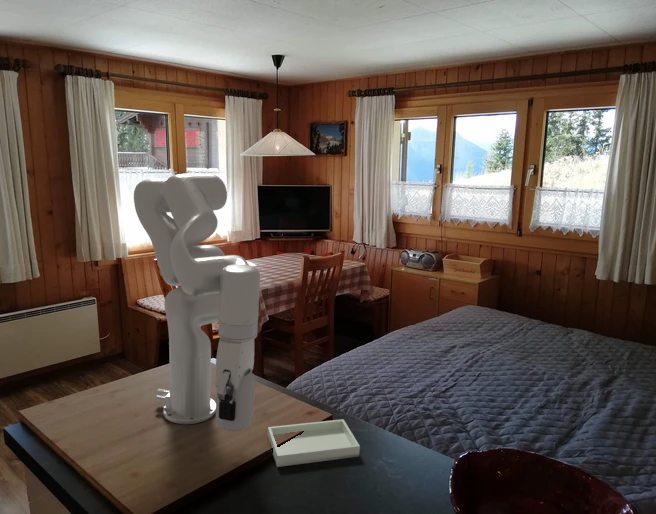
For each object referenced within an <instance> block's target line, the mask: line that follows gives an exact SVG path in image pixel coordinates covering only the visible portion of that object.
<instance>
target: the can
mask: <svg viewBox="0 0 656 514" xmlns="http://www.w3.org/2000/svg"><path fill="white" fill-rule="evenodd" d="M255 383H256V376H255V374H254V373H253V370H252V369H251V368H250V371H249V372H248V374H247V375H246V376H244V377H243V381H242V383H241V385H240V388H238V389H237V390H236V394H235V399H234V402H236V410H235V420H234V421H229V420H224V419H220V418H219V399H218V395H217V393H216V400H215V402H216V413H215V423H216V424H217V426H219V427H220V428H221V429H223V430H225V431H228V432H238V431H242V430H244V429H247V427H249V426H250V425H251V424H252V423H253V420H254V403H255V401H254V400H255V385H256V384H255ZM228 386H231V387H233V386H234V385H232V383H231V382H229V384H228ZM217 390H218V387H216V391H217ZM226 392H227V394H229V395H230V396H231V392H232V390H230V389H226Z"/></svg>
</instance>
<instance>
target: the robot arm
mask: <svg viewBox="0 0 656 514" xmlns="http://www.w3.org/2000/svg"><path fill="white" fill-rule="evenodd" d="M227 200H228V191H227V187H226V185H225V182H224V181H223V180H222V179H221V177H220V176H217V175H216V174H209V173H206V174H205V173H177V174H175V175H171V176H169V177H167V178H165V177H164V178H163V177H162V178H160V177H157V178H156V177H155V178H148V179H144V180H142V181H140V182H138V184H137V185H136V186H135V188H134V191H133V202H134V203H133V204H134V205H133V206H134V209H135V212H136V216H137V218H138V220H139V222H140V224H141V226H142V229H144V231H145V232H146V234H147V236H148V237H149V239H150V242H151V244H152V248H153V251H154V254H155V258H156V261H157V266H158V268H159V271H160V275H161V277H162V279H163V281H164V282H165V283H166V284H167V285H169V286H173V287H176V288H174V289H171V290H170V291H169V292H168V293H167V294H166V296H165V298H164V311H165V317H166V321H167V329H168V340H169V341H168V346H169V347H168V349H169V389H162V388H158V389H157V390H156V393H155V396H156V397H155V401H156V402H160V403H161V402H163V403H165V404H164V406H163V408H162V414H163V415H162V416H163V417H164V418H165V419H166V420H167V421H169V422H171V423H174V424H178V425H193V424H199V423H201V422H202V423H203V422H205V421H207V420H209V419H211V418H212V417H213V416H215V415H216V400H214V399H213V398H211V376H212V375H211V374H212V373H211V368H212V366H211V365H212V362H211V361H212V360H211V359H212V358H211V357H212V346H211V345H212V343H211V340H210V338H209V336H208V335H207V333H206V332H205V331H203V330H202V328H201V327H202V326H205V325H210V324H214V323H218V334H217V335H218V337H219V340H218V346H217V352H216V359H215V368H214V369H215V370H214V371H215V372H214V386H215V388H217V387H218V390H217V389H216V394H217V395H218V399H219V418H220V419H224V420H229V421H234V420H235V410H236V402H234V399H235V394H236V390H237V389H238V388H240V385H241V383H242V381H243V377H244V376H246V375H247V374H248V372H249V371H250V368H251V369H252V371H253V370H254V366H255V365H254V364H255V339H256V338H257V337H258V324H259V309H260V287H261V285H260V284H261V274H260V271H259V269H258V268H256V267H255V266H253V265H250V264H249V263H248V261H247V260H246V259H245V258H244V257H243V256H241V255H237V254H230V255H229V254H228V255H227V254H226V255H225V253H224V252H223V250H222V249H221V248H220V247H218V246H217V245H213V244H203V245H202V244H200V243H202V242H204V241H205V240H208V239H209V238H210V237H211V236H212V235H213V234H214V233H215V232H216V230H217V228H218V218H217V215H216V214H215V212H214V211H219V210H221V209H222V208H224V207H225V205H226V203H227ZM168 213H170V214H171V216H172V217H171V216H170V215H169V214H168ZM198 244H200V245H198ZM229 382H231V383H232V385H234V386H233V387H231V386H228V384H229ZM226 389H230V390H232V392H231V396H230V395H229V394H227V392H226Z"/></svg>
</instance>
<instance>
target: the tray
mask: <svg viewBox="0 0 656 514" xmlns="http://www.w3.org/2000/svg"><path fill="white" fill-rule="evenodd" d="M298 431H304V432H303V433H302V434H301V435H298V436H296V437H295V438H293V439H291V440H290V441H288V442H286V443H285V444H283V445H281V446H280V447H277V444H276V441H275V438H274V436H273V435H278V434H285V433H290V432H298ZM268 437H269V439H270V442H271V445H272V448H273V453H272V456H273V459H274V462H275V465H276V467H277V468H279V467H280V468H281V467H286V466H287V467H288V466H294V465H302V464H303V465H304V464H310V463H311V464H312V463H318V462H325V461H334V460H340V459H341V460H343V459H349V458H351V459H352V458H357V457H360V450H361V446H360V444H359V442H358V441H357V439H356V437H355V436H354V434H353V432H352V430H350V428H349V426H348V424H347V422H346V421H345V419H343V418H342V419H333V420H325V421H315V422H313V421H312V422H303V423H294V424H287V425H286V424H285V425H276V426H275V425H274V426H268V427H267V438H268Z"/></svg>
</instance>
